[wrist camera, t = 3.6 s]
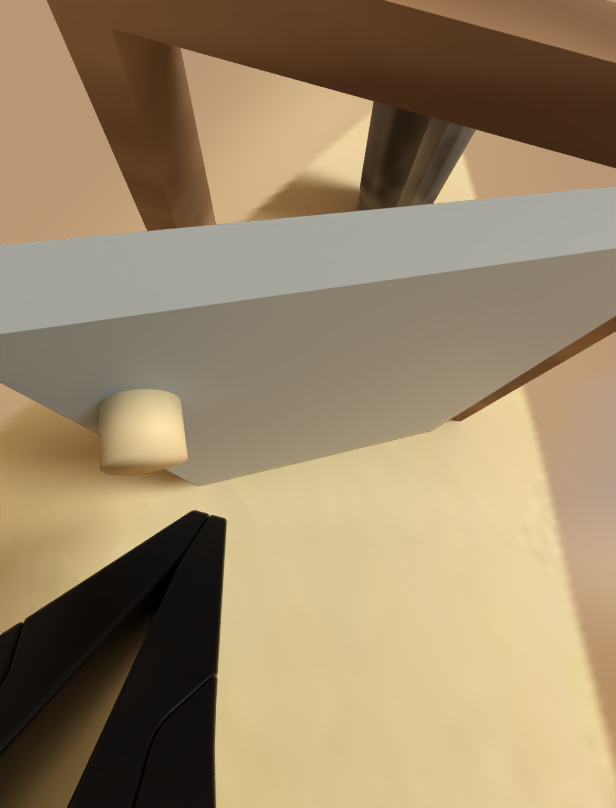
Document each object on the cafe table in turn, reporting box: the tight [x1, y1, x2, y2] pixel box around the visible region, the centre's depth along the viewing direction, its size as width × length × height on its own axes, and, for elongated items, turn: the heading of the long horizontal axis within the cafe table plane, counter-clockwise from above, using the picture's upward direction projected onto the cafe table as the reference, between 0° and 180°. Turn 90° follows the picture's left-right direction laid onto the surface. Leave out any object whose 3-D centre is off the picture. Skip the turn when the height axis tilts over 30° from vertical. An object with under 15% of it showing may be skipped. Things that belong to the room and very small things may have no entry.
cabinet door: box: [0, 187, 616, 486], centre depth 9 cm, size 2×12×11 cm, turn 104°
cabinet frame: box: [47, 0, 616, 421], centre depth 11 cm, size 2×15×13 cm, turn 74°
